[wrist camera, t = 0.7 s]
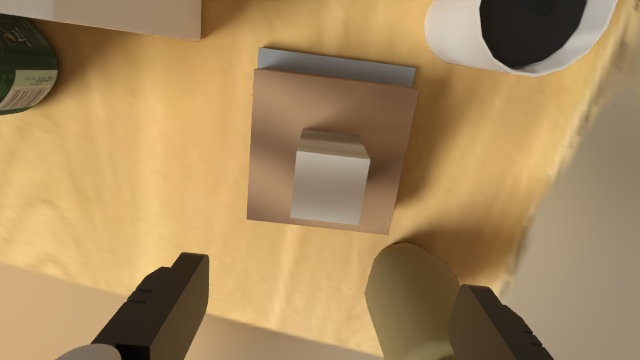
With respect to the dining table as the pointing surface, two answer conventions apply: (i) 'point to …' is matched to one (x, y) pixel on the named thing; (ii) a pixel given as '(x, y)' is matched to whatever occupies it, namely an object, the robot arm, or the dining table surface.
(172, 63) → the dining table surface
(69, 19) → the milk carton
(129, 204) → the dining table surface
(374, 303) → the squeeze bottle
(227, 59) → the dining table surface
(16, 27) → the coffee jar
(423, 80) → the dining table surface
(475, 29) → the white cup
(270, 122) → the tan plate with knob
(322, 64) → the rubber mat
